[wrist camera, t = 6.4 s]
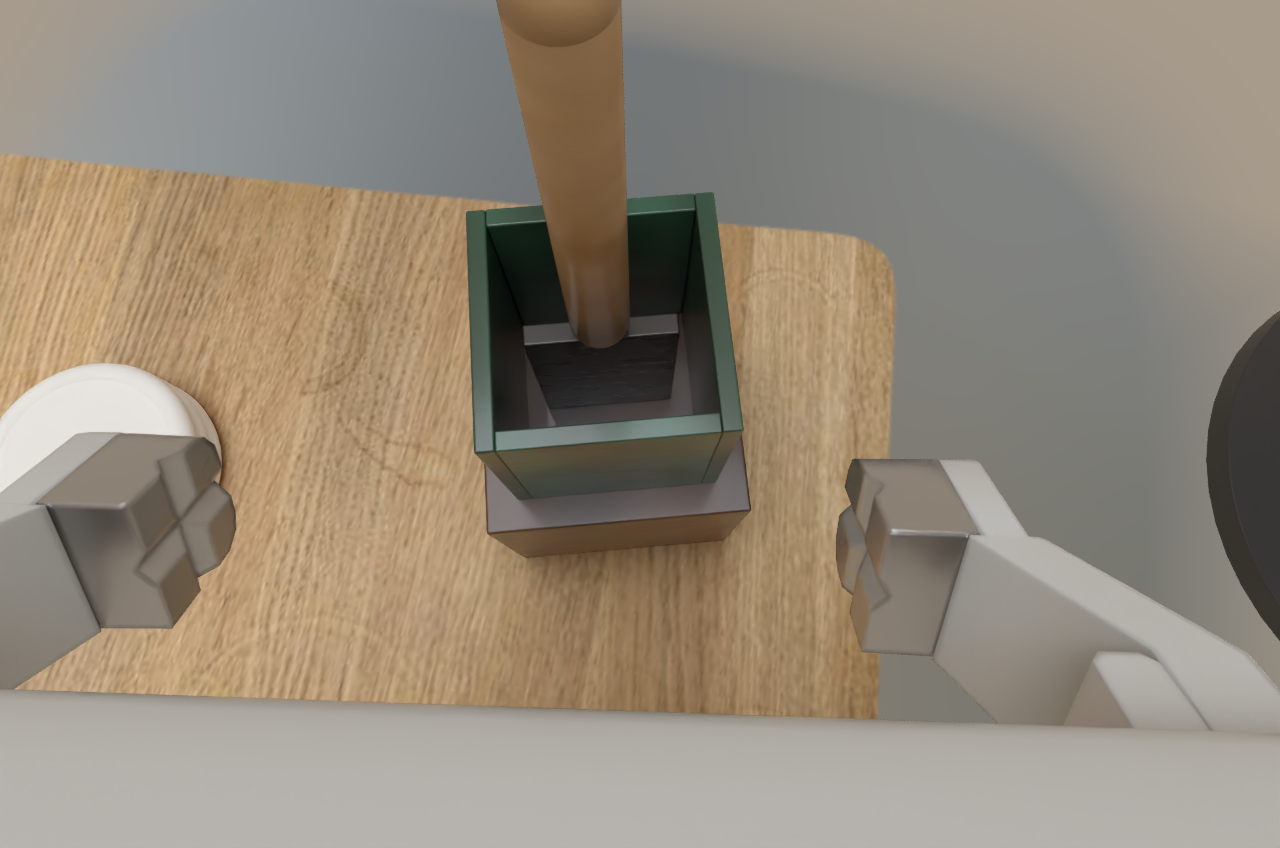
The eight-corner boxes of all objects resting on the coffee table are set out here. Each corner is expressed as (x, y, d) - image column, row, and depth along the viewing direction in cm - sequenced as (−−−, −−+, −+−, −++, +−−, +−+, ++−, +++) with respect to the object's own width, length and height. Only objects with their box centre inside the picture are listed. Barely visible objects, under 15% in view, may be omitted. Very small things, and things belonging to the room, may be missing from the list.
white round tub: (0, 444, 40) (-59, 427, 37) (179, 348, 42) (138, 323, 38) (72, 613, 38) (17, 611, 35) (258, 505, 39) (222, 493, 36)
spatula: (668, 368, 31) (723, -124, 11) (672, 412, 30) (738, -17, 10) (546, 379, 31) (371, -101, 10) (549, 422, 30) (371, 9, 10)
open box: (702, 353, 42) (747, 153, 24) (723, 540, 39) (792, 468, 22) (515, 368, 41) (424, 178, 24) (524, 557, 39) (431, 499, 21)
